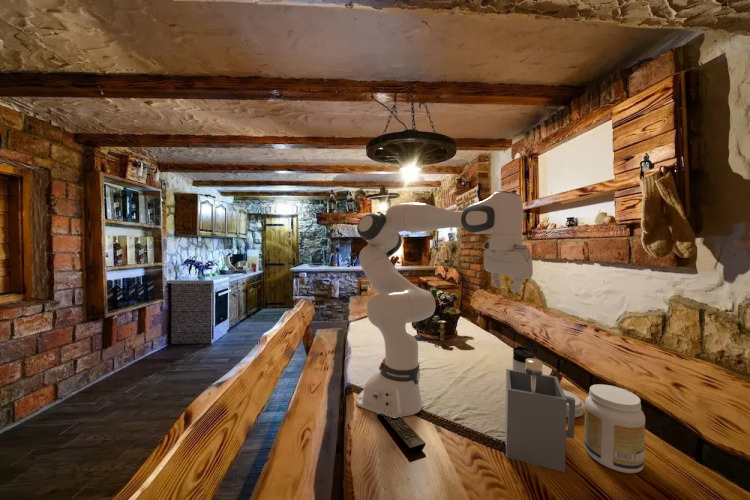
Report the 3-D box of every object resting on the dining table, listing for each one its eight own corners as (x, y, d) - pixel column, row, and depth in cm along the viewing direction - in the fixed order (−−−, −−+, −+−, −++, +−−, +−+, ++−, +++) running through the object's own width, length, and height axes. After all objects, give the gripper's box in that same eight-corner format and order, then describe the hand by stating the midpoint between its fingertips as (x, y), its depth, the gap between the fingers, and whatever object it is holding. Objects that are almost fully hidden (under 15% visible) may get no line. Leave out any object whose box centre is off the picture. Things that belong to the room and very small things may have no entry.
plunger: (512, 449, 78) (514, 365, 77) (510, 427, 88) (512, 352, 87) (556, 460, 75) (559, 372, 74) (549, 436, 84) (552, 357, 83)
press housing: (506, 457, 78) (507, 389, 77) (505, 427, 90) (506, 369, 89) (579, 476, 72) (581, 402, 71) (567, 441, 84) (569, 378, 83)
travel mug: (527, 403, 103) (528, 346, 102) (535, 414, 97) (537, 353, 96) (508, 402, 104) (509, 345, 103) (515, 413, 97) (517, 352, 96)
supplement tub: (647, 459, 77) (650, 394, 76) (639, 484, 69) (642, 413, 68) (590, 435, 86) (592, 377, 86) (577, 455, 78) (579, 392, 78)
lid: (541, 414, 97) (541, 399, 97) (536, 395, 109) (537, 382, 108) (588, 424, 92) (588, 408, 92) (578, 403, 104) (578, 388, 103)
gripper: (539, 245, 82) (538, 295, 83) (497, 243, 102) (496, 284, 103) (518, 245, 81) (517, 296, 82) (480, 243, 101) (479, 284, 102)
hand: (505, 289), depth 92 cm, fingers open, 8 cm apart
